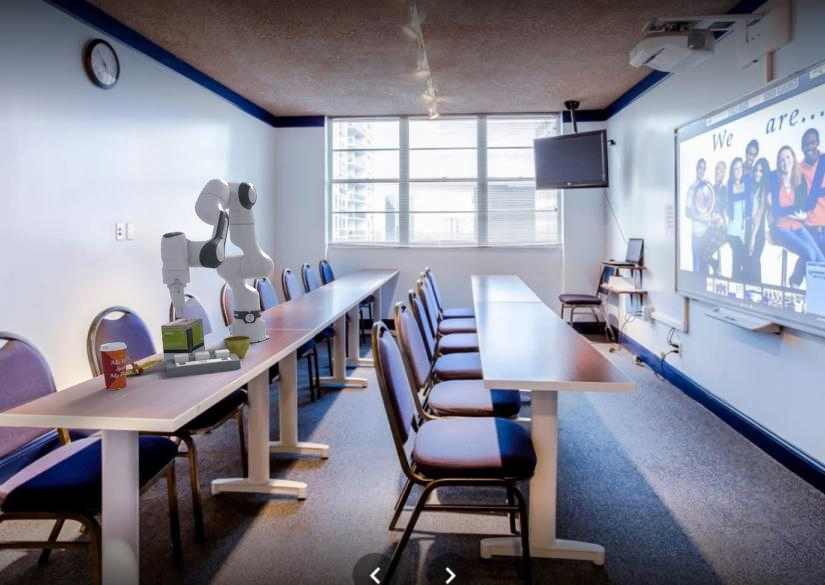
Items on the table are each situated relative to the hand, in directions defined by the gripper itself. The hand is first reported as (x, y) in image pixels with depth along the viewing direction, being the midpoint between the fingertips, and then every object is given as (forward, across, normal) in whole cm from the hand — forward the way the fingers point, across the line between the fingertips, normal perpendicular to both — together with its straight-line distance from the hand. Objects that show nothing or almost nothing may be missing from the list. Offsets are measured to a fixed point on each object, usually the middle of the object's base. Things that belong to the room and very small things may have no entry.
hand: (178, 316), depth 188 cm
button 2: (+17, 0, -14) cm, 22 cm away
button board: (+19, -3, -7) cm, 21 cm away
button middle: (+17, 0, -7) cm, 18 cm away
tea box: (+19, +18, -2) cm, 27 cm away
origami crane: (+19, 0, +14) cm, 24 cm away
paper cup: (+19, -15, +20) cm, 32 cm away
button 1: (+17, 0, 0) cm, 17 cm away
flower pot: (+19, +11, -21) cm, 31 cm away
